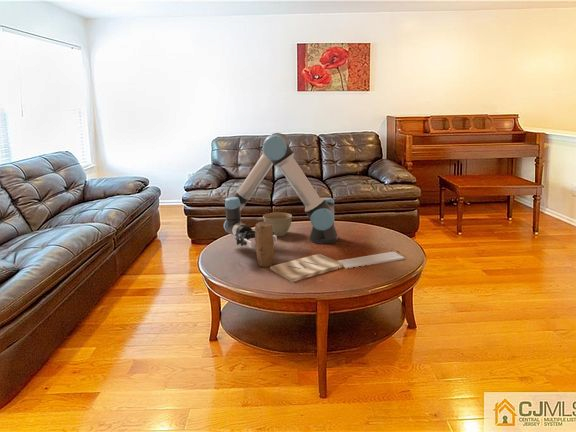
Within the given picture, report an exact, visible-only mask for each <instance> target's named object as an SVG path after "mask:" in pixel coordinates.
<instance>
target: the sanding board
mask: <svg viewBox="0 0 576 432" xmlns="http://www.w3.org/2000/svg"><path fill="white" fill-rule="evenodd" d="M337 261H338V260H335V259H332V258H330V257H328V256H325V255H324V254H321V253H317V254H313V255H309V256H305V257H302V258H298V259H294V260H289V261H286V262H281V263H279V264H275V265H274V264H273V265H271V266H269V270H271V271H273V272H274V273H275V274H277V275H279V276H281V277H283V278H284V279H286V280H288V281H290V282H291V283H293V282H297V281H300V280H304V279H307V278H311V277H314V276H318V275H321V274H324V273H327V272H331V271H332V272H333V271H335V270H338V268H339V269H341V268H343V264H342V263H339V262H337ZM317 274H318V275H317Z"/></svg>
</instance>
